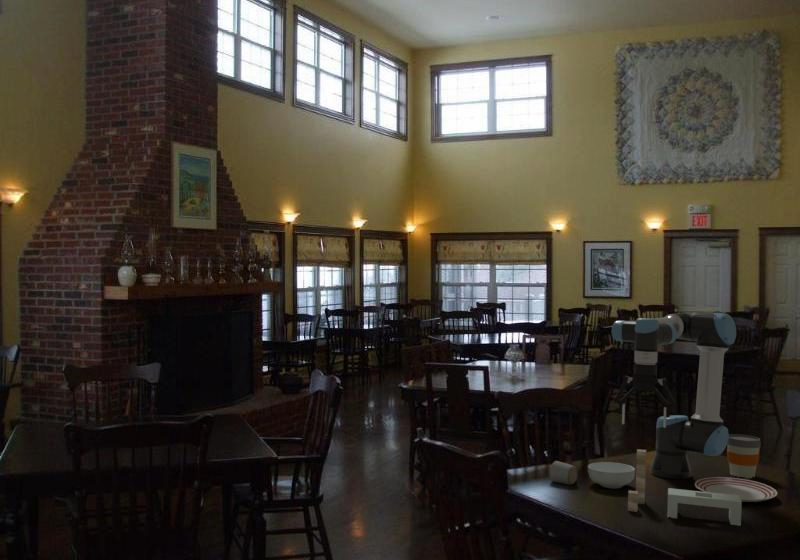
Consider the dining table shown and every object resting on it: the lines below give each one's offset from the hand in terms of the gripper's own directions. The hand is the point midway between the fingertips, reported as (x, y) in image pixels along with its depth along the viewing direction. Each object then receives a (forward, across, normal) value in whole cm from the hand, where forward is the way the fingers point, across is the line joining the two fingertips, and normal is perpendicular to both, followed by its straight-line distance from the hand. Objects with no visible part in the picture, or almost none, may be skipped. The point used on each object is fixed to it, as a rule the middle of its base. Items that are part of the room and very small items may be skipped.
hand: (643, 425), depth 278 cm
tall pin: (+27, 0, 0) cm, 27 cm away
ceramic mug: (+27, -28, +17) cm, 42 cm away
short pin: (+27, -2, -10) cm, 29 cm away
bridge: (+27, +20, -10) cm, 35 cm away
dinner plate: (+27, +32, +24) cm, 48 cm away
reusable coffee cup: (+27, +37, +57) cm, 73 cm away
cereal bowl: (+27, -11, +19) cm, 35 cm away
